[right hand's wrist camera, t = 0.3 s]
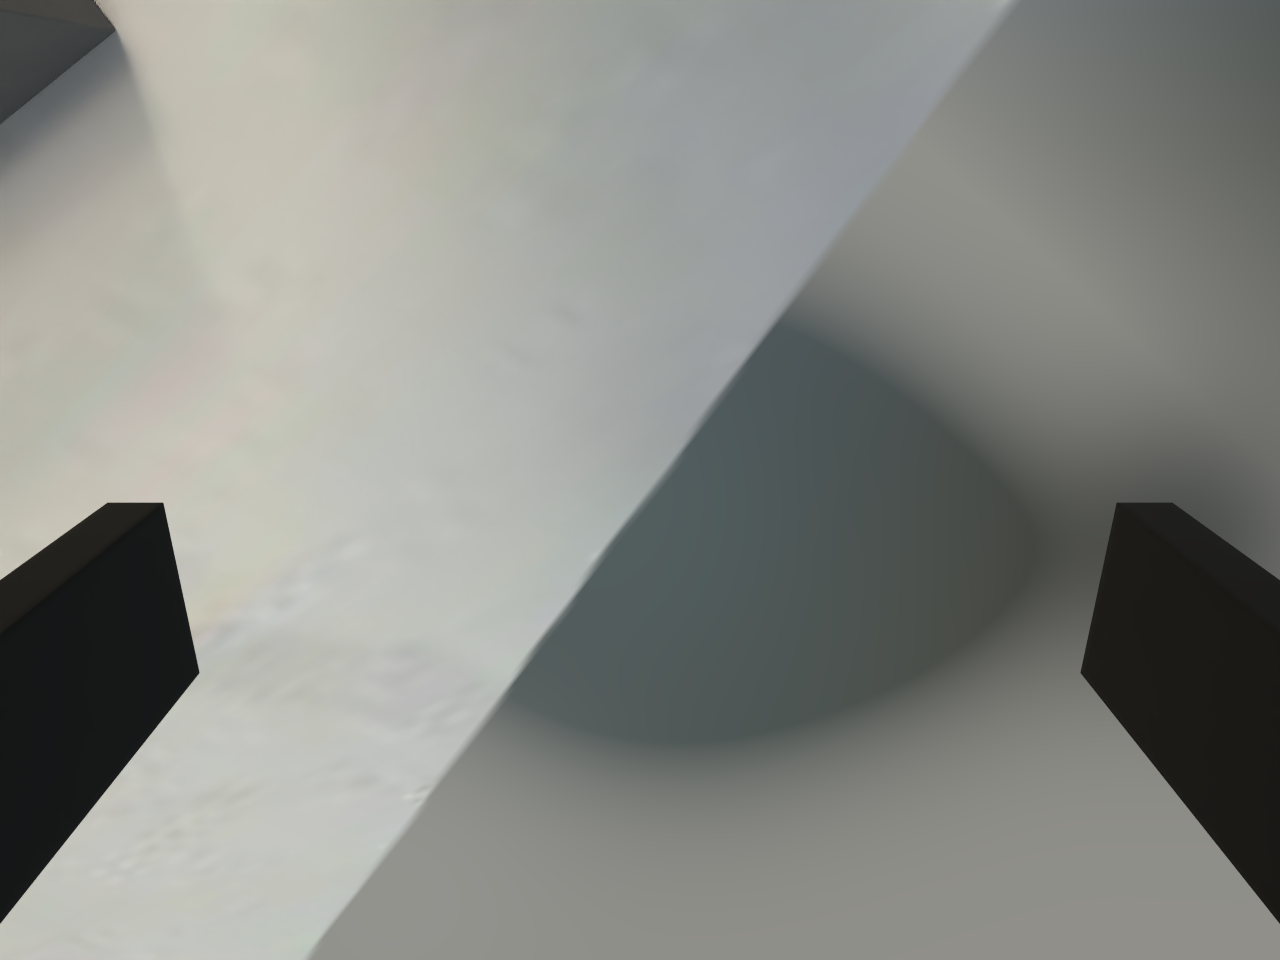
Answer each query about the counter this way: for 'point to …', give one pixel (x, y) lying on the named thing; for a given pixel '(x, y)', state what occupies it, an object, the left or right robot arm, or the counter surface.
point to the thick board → (43, 44)
